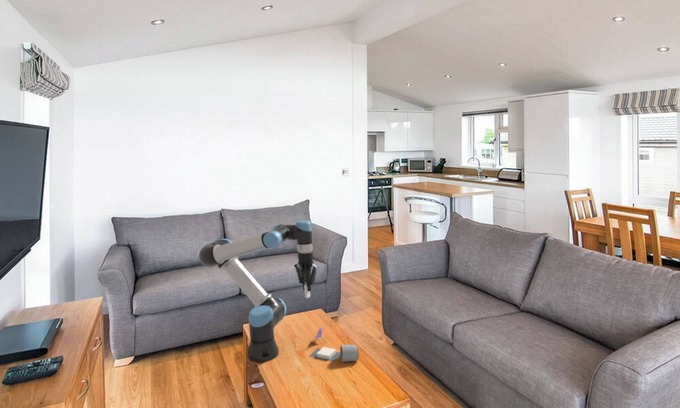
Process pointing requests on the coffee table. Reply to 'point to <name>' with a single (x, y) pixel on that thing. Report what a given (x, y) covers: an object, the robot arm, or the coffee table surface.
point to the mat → (324, 358)
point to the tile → (326, 353)
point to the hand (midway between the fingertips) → (307, 297)
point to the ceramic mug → (349, 353)
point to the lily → (319, 334)
